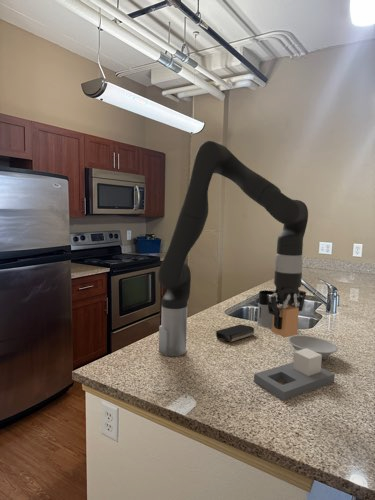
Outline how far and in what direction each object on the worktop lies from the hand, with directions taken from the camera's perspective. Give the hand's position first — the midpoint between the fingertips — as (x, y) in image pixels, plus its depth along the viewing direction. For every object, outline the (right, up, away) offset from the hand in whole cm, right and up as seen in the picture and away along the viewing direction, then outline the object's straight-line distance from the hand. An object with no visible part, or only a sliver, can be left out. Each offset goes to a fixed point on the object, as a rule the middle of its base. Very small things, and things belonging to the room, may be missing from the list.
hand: (284, 326), depth 100 cm
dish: (+16, -16, +24) cm, 33 cm away
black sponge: (-9, -14, +41) cm, 45 cm away
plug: (0, -2, 0) cm, 2 cm away
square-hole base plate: (+4, -18, +5) cm, 19 cm away
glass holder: (+5, -12, +58) cm, 59 cm away
